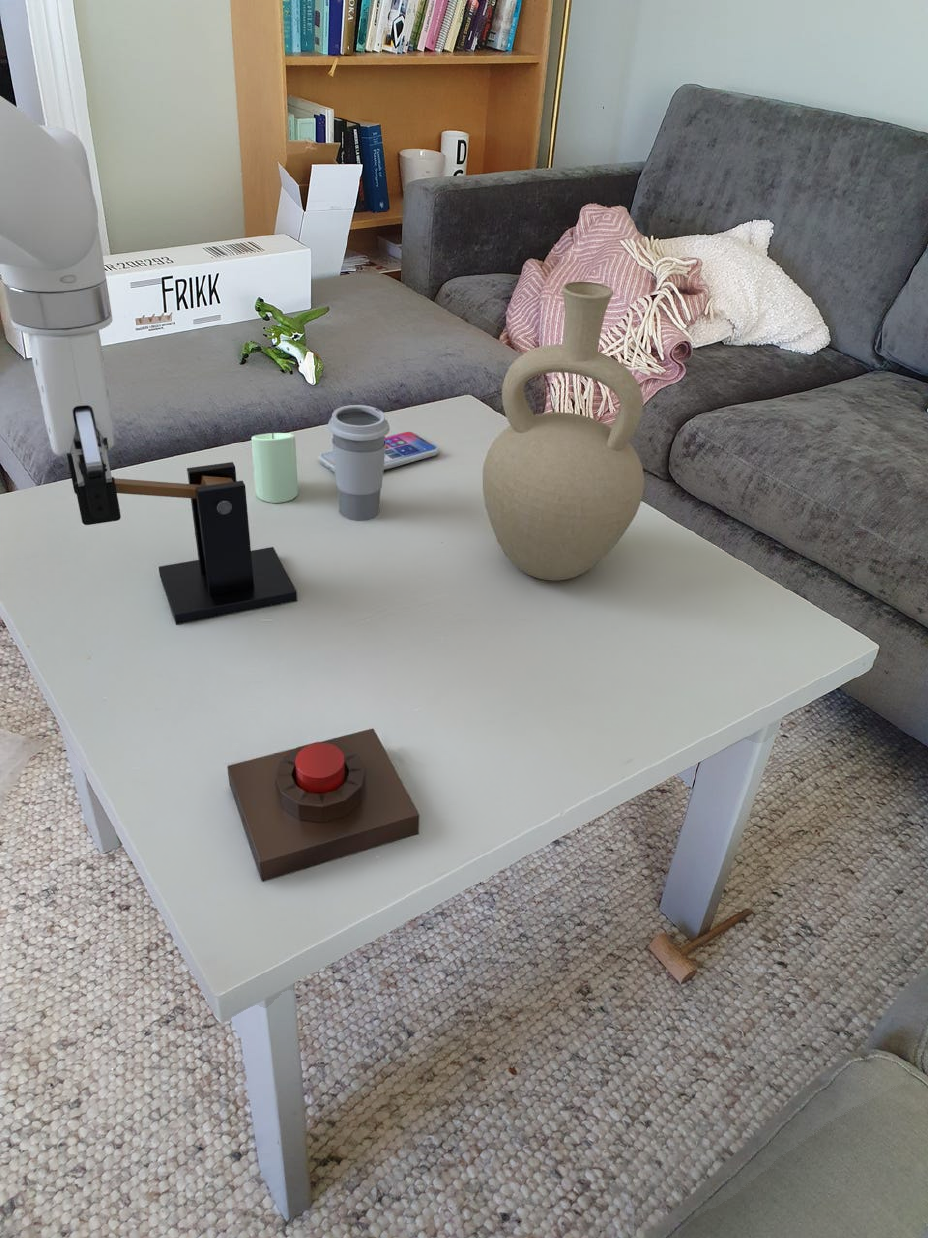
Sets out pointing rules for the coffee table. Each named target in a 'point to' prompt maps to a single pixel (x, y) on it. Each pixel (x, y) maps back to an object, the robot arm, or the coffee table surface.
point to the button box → (320, 807)
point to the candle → (275, 467)
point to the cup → (358, 458)
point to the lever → (165, 487)
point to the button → (320, 768)
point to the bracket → (223, 557)
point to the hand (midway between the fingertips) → (97, 504)
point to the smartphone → (396, 451)
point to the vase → (565, 455)
